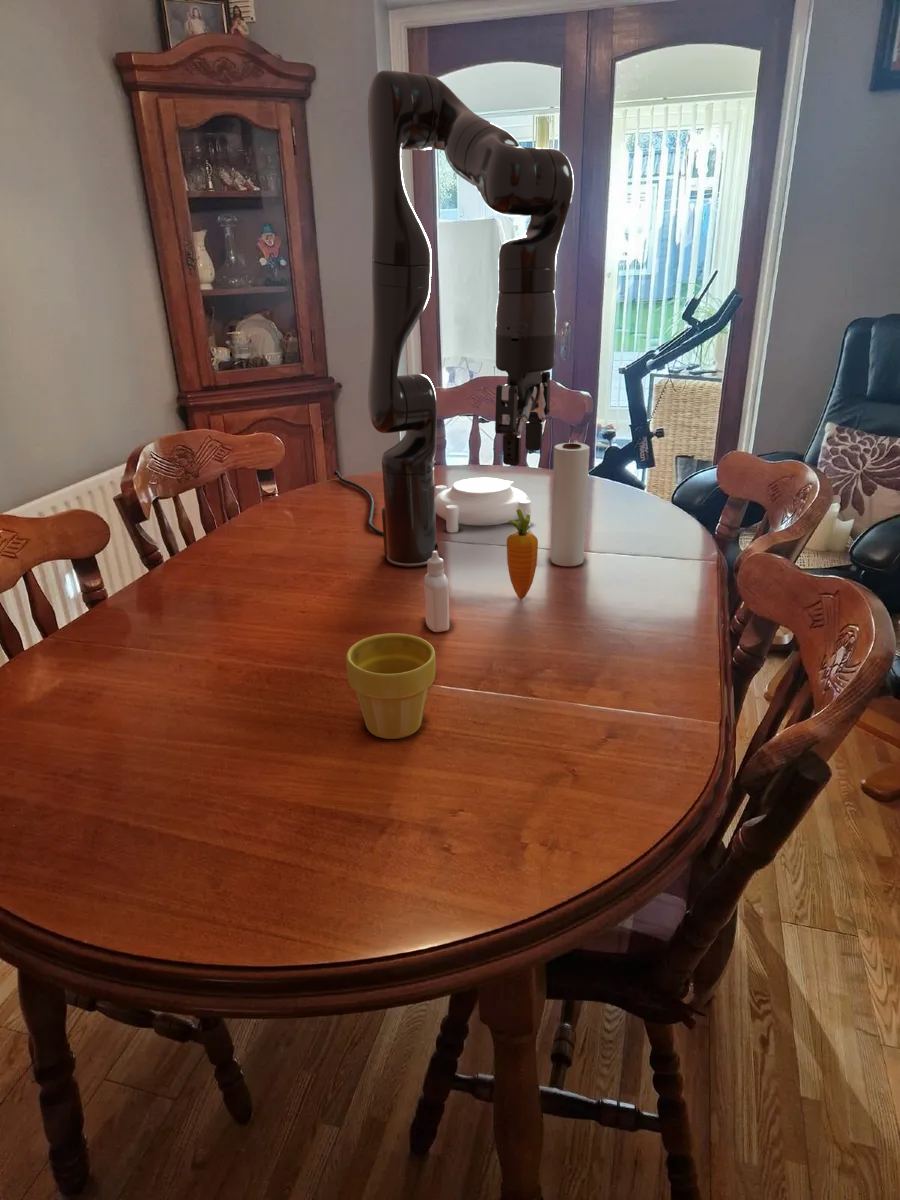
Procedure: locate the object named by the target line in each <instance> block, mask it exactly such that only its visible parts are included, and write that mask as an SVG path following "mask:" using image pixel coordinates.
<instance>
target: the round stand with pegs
mask: <svg viewBox="0 0 900 1200" xmlns="http://www.w3.org/2000/svg"><path fill="white" fill-rule="evenodd" d="M447 487H448V486H447V485H444V484H438V485H436V486H435V513H436V515H438V517H440V518H442V519H443V520H445V523H446V531H447V533H458V532H459V529H460V526H459V525H465V526H493V525H501V524H507V523H509V521H510V520H514V521H518V522H519V523H520V520H519V517H518V515H517V511H516V510H518V509H521V511H522V513H523V517H524V520H525V518H526V514H529V515H530V518H531V516H532V514H531V513H532V512H531V511H532V510H531V509H532V508H531V507H532V501H531V500H530V498H529V497H528V495H527V494H526V493H525V492H524V491H523V490H521V489H519V488H516V487H514V481H512V480H505V479H501V478H496V477H487V476H486V477H471V478H470V477H469V478H463V479H460V480H457V481H455V482H454V483H453V484H452V485H451V487H450V488H447ZM530 526H531V522H530V523H529V527H530Z"/></svg>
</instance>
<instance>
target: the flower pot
mask: <svg viewBox="0 0 900 1200" xmlns="http://www.w3.org/2000/svg"><path fill="white" fill-rule="evenodd" d="M345 663H346V665H345V666H346V676H347V681H348V684H349V686H350V688H352V690H353V691H355V695H356V697H357V700H358V703H359V706H360V711H361V713H362V716H363V721H364V723H365V726H366V729H367V730H368V732H369V733H370V734H372V735H373V736H375V737H378V738H381V739H386V740H399V739H403V738H406V737H410V736H411V735H413V734H415V733H416V732H417V731H418V730H419V729H420V727H421V725H422V721H423V717H424V711H425V707H426V702H427V696H428V693H429V688H430V687H431V686H432V685H433V683H434V681H435V679H436V651H435V648H434V647H433V645H432V644H431V643H430V642H429V641H427V640H426V639H423V638H422V637H419V636H416V635H414V634H413V635H412V634H407V633H382V634H375V635H372V636H368V637H365V638H362V639H361V640H359V641H356V642H355V643H354V644H353V645H351V647H349V649H348V650H347V652H346V655H345Z"/></svg>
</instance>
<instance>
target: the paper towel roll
mask: <svg viewBox="0 0 900 1200" xmlns="http://www.w3.org/2000/svg"><path fill="white" fill-rule="evenodd" d="M590 448H591V447H590V446H589V445H588V444H585V443H584V442H580V441H576V440H575V439H574V440H573V442H562V443H558V444H556V445H554V446H553V465H552V466H553V468H552V470H553V472H552V474H553V475H552V497H551V498H552V500H551V529H550V530H551V531H550V562H551V563H552V564H554V565H556V566H560V567H576V566H580V565H581V564H583V562H584V560H585V545H586V544H585V542H586V525H587V507H588V505H587V503H588V485H589V484H588V483H589V482H588V481H589V466H590Z"/></svg>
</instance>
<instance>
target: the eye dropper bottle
mask: <svg viewBox="0 0 900 1200" xmlns="http://www.w3.org/2000/svg"><path fill="white" fill-rule="evenodd" d="M426 566H427V568H426V569H427V573H426V574H425V575H424V578H423V591H424V615H425V625H426V627H427V628H428V630H430V631H432V632H434V633H441V632H447V631H449V629H450V591H449V589H450V587H449V580H448V577H447V576H446V574H445V560H444V559H443V558H441V557H440V556H439V551H433V553H432V558H430V559H428V560H427V565H426Z"/></svg>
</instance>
